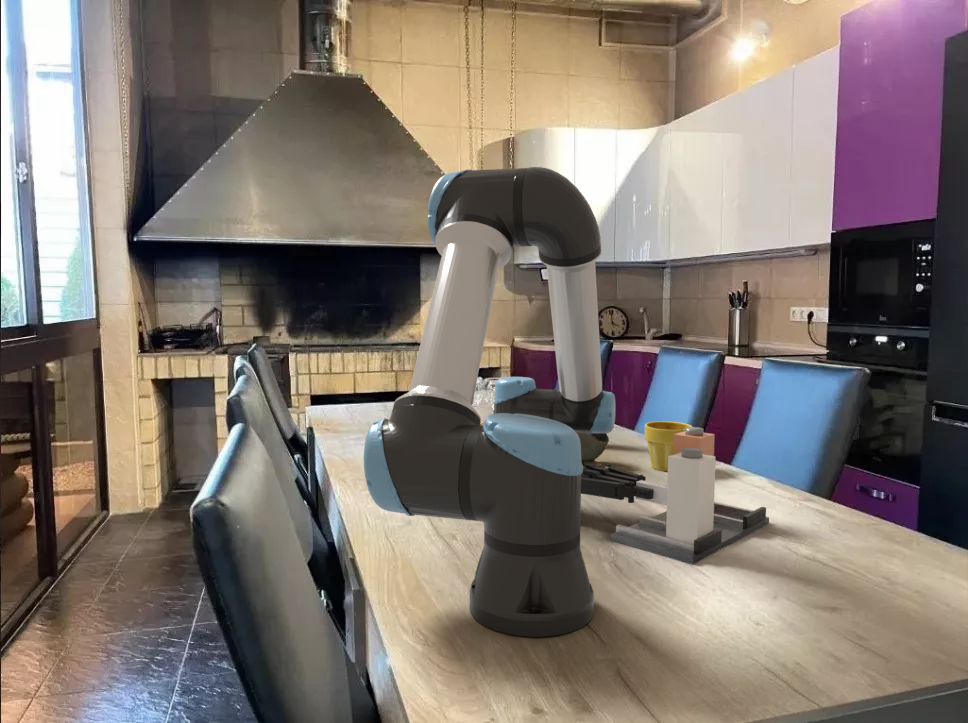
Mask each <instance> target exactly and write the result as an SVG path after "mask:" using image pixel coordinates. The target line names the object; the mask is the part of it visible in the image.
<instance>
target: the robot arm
mask: <svg viewBox="0 0 968 723" xmlns="http://www.w3.org/2000/svg"><path fill="white" fill-rule="evenodd" d="M427 211H428V212H429V213H428V216H427V220H426V221H427V228H428V233H429V236H430V238H431V240H432V242H433V243H434V245H435V248H436V250H437V252H438V254H439V255H440V256H441V258H440V261H439V267H438V269H437V270H438V271H437V274H436V275H437V276H436V279H435V283H434V287H433V291H432V295H431V299H430V304H429V308H428V311H427V316H426V320H425V323H424V328H423V331H422V335H421V336H422V337H421V340H420V345H419V349H418V354H417V357H416V362H415V364H414V365H415V366H414V369H413V374H412V377H411V382H410V386H409V389H408V392H406V393H404V394H403V395H401V396H399V397H397V398H396V399H395V401H394V402H393V405H392V406H393V407H392V409H391V413H390V417H389V419H388V418H386V417H383V418H381V419H377V420H375V421H374V422H372V425H370V427H369V428H368V431H367V434H366V437H365V441H364V448H363V471H364V472H363V473H364V478H365V483H366V487H367V489H368V492H369V494H370V497H371V500H373V502H374V503H375V504H376V505H377V506H378V508H380V509H382V510H384V511H386V512H391V513H397V514H405V515H406V516H409V517H414V516H423V517H433V518H443V519H444V518H445V519H453V520H463V521H474V522H482V523H483V548H482V551H481V555H480V558H479V560H478V563H477V566H476V570H475V574H474V579H473V580H472V581H471V584H470V588H469V611H470V614H471V615H472V617H473V618H474V619H475V620H476V621H478V623H480V624H481V625H483V626H485V627H486V628H489V629H491V630H493V631H496V632H500V633H504V634H507V635H513V636H517V637H518V636H520V637H528V638H529V637H530V638H531V637H532V638H534V637H535V638H536V637H537V638H538V637H539V638H540V637H555V636H559V635H564V634H567V633H572V632H575V631H577V630H579V629H581V628H583V627H584V626H586V625H587V624H588V623H589V622H591V620H592V618H594V613H595V592H594V589H593V587H592V584H591V583H590V579H589V575H588V572H587V568H586V563H585V559H584V557H583V554H582V549H581V515H582V514H581V512H582V511H581V510H582V509H581V508H582V506H581V505H582V495H587V496H594V497H601V498H608V499H612V500H613V499H614V500H620V501H622V500H623V501H624V500H625V498H626V499H627V503H629V504H634V503H635V499H636V500H641V501H646V502H650V503H655V504H658V505H662V506H666V507H667V484H666V485H665V484H663V483H658V482H657V483H656V482H652V481H649V480H648V481H647V480H646V476H644V474H638V473H635V472H632V471H631V472H630V471H628V470H625V469H621V468H618V467H616V466H614V465H612V464H605V465H604V466H605V467H601V466H596V465H593V464H585V465H584V463H583V461H582V459H581V442H580V438H579V436H578V434H577V433H576V432H580V433H588V434H591V433H607V434H609V433H611V432H612V431H613V430H614V427H615V422H616V411H617V410H616V409H617V408H616V407H617V406H616V396H615V394H614V393H613V392H611V391H606V390H603V378H602V376H603V375H602V360H601V359H602V358H601V343H600V341H601V340H600V326H599V325H600V324H599V309H598V305H599V304H598V291H597V287H598V286H597V275H596V270H597V269H596V261H597V260H598V259H599V258H600V256H601V255H602V245H601V244H602V243H601V242H602V241H601V233H600V228H599V225H598V221H597V218H596V216H595V214H594V212H593V210H592V207H591V205H590V203H589V202H588V201H587V199H586V198H585V196H584V195H583V194H582V192H581V191H580V190H579V188H578V187H577V186H576V185H575V184H573V182H572V181H570V180H569V179H568V178H567V177H566V176H564V175H562V174H561V173H559V172H558V171H555V170H553V169H550V168H547V167H542V166H529V167H524V168H523V167H522V168H521V167H519V168H500V169H499V168H497V169H494V168H493V169H477V170H476V169H475V170H474V169H464V170H460V171H454V172H448V173H445V174H444V175H443V176H441V177H440V178H439V179H438V180H437V181H436V183H435V184H434V186H433V188H432V190H431V193H430V196H429V199H428V204H427ZM514 247H515V248H516V247H521V248H522V247H523V248H524V247H537V248H538V249H537V250H538V258H539V261H540V262H541V264H543V265H544V266H546V274H547V284H548V292H549V302H550V311H551V312H550V313H551V322H552V333H553V340H554V343H553V344H554V350H555V351H554V352H555V362H556V370H557V372H556V373H557V378H558V379H557V380H558V389H548V388H547V389H546V388H537V386H536V381H535V379H534V378H531V377H527V376H526V377H525V376H505V377H500V378H498V379H497V380H496V382H495V385H494V386H495V388H494V401H493V412H494V413H492V414H489V415H487V416H486V417H485V419H484V421H483V423H482V425H481V421H482V420H481V416H480V414H479V413H478V411H477V410H476V409H475V407H474V406H473V404H474V403H473V402H474V398H475V392H476V388H477V387H476V386H477V381H478V376H479V370H480V368H481V367H480V366H481V362H482V356H483V350H484V344H485V342H486V341H485V339H486V335H487V330H488V325H489V320H490V315H491V314H490V313H491V309H492V305H493V300H494V293H495V288H496V284H497V283H496V282H497V278H498V273H499V269H501V268H504V267H505V266H506V265H508V263H509V262H510V260H511V258H512V254H513V249H514Z"/></svg>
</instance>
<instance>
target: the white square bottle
mask: <svg viewBox="0 0 968 723" xmlns="http://www.w3.org/2000/svg"><path fill="white" fill-rule="evenodd" d="M715 482H716V456H715V455H714V456H709V455H704V454H703V450H701V449H698V448H683V449H682V452H681V453H678V454H675V455H671V456H668V471H667V484H666V485H667V506H666V511H667V521H666V538H670V539H674V540H677V541H681V542H685V543H688V544H692V545H694V540H696V539H698V538H700V537H702V536H704V535H706V534H708V533H710V532H712V531H713V520H714V502H715V489H716V488H715V484H716V483H715Z"/></svg>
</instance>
